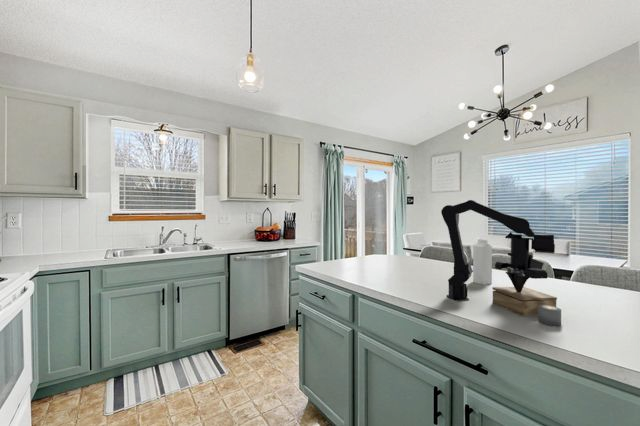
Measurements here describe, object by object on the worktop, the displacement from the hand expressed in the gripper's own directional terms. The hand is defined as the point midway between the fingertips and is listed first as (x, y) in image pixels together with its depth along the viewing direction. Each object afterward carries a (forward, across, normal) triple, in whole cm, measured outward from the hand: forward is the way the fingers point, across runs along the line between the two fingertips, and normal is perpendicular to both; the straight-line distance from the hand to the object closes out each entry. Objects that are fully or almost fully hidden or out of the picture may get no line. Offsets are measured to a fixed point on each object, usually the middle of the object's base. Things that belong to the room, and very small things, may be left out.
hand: (518, 292), depth 111 cm
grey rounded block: (+6, -14, +1) cm, 15 cm away
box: (+6, 0, -2) cm, 6 cm away
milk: (+6, +37, -13) cm, 40 cm away
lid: (+1, 0, -2) cm, 2 cm away
